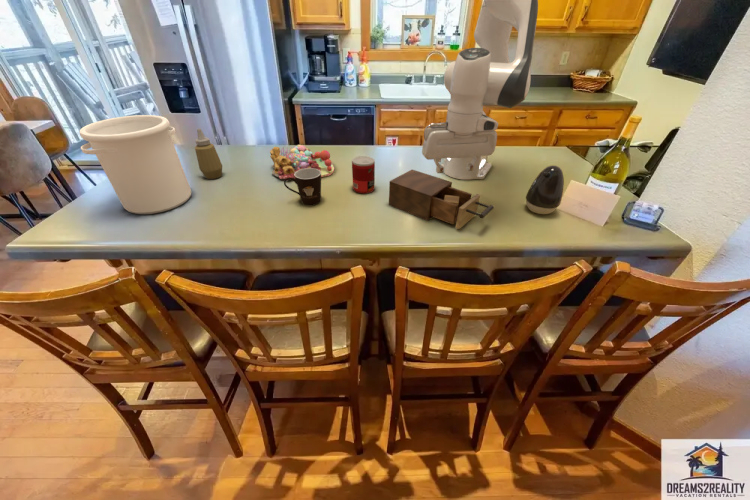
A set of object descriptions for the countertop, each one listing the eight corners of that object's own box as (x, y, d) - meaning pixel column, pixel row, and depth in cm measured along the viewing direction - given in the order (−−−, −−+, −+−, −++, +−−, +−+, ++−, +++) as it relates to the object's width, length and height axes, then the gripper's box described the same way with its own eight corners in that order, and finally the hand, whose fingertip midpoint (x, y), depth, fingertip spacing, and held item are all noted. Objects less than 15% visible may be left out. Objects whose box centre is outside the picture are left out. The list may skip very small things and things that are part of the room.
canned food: (372, 194, 113) (372, 165, 106) (350, 192, 114) (349, 163, 107) (376, 185, 119) (376, 156, 112) (355, 183, 120) (354, 155, 113)
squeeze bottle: (197, 178, 123) (181, 130, 112) (213, 170, 129) (199, 124, 118) (214, 182, 120) (198, 133, 110) (229, 174, 126) (216, 127, 116)
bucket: (137, 227, 95) (93, 143, 80) (102, 207, 105) (57, 128, 90) (213, 194, 112) (188, 120, 97) (177, 179, 122) (149, 110, 107)
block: (443, 207, 102) (445, 194, 99) (457, 208, 101) (459, 196, 98) (441, 213, 99) (443, 201, 96) (456, 215, 98) (458, 203, 95)
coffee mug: (328, 197, 111) (325, 170, 105) (316, 208, 105) (313, 180, 99) (298, 192, 114) (294, 165, 108) (285, 203, 108) (280, 175, 102)
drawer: (492, 220, 98) (498, 200, 94) (476, 236, 91) (481, 215, 87) (436, 200, 108) (439, 181, 104) (417, 213, 101) (419, 193, 97)
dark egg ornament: (515, 208, 105) (529, 164, 96) (533, 200, 110) (548, 157, 101) (544, 221, 99) (561, 176, 90) (562, 212, 104) (580, 167, 95)
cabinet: (448, 205, 107) (452, 182, 102) (428, 220, 99) (431, 195, 94) (410, 191, 115) (412, 169, 110) (388, 204, 107) (389, 181, 102)
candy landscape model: (281, 187, 117) (276, 163, 112) (264, 165, 133) (259, 143, 128) (342, 173, 127) (341, 150, 122) (319, 155, 144) (317, 134, 138)
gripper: (428, 127, 80) (423, 178, 88) (504, 123, 83) (492, 173, 91) (421, 120, 85) (417, 169, 93) (493, 116, 88) (482, 164, 96)
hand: (454, 171), depth 92 cm, fingers open, 8 cm apart
